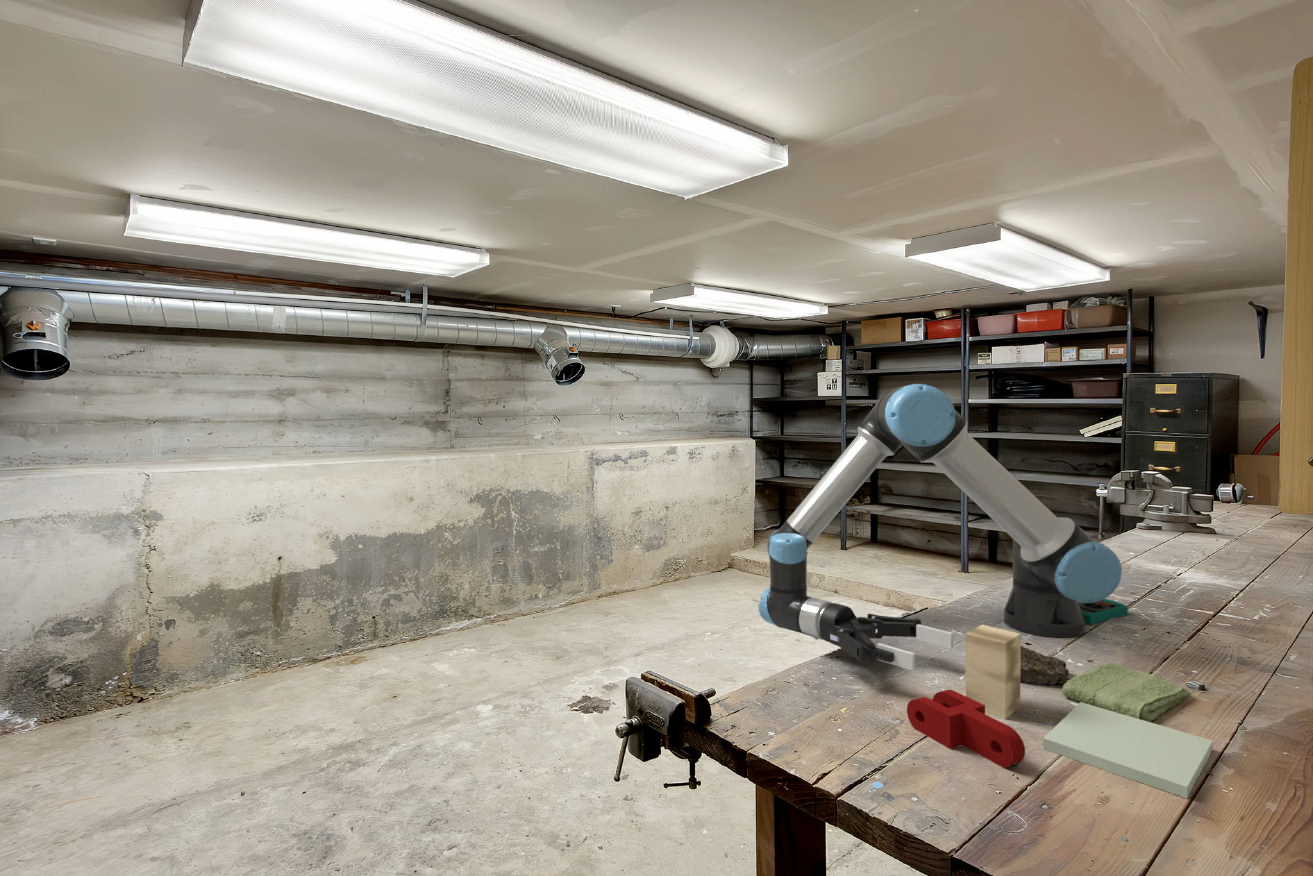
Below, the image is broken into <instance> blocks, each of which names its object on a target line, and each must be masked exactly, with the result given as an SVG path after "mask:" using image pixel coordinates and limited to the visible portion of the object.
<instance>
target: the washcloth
mask: <svg viewBox="0 0 1313 876" xmlns="http://www.w3.org/2000/svg"><path fill="white" fill-rule="evenodd" d="M1061 693H1062V695H1063V696H1064V697H1066V698H1067V699H1070V700H1073V701H1076V702H1079V703H1080V702H1082V703H1085V704H1089V705H1092V706H1096V707H1099V708H1103V709H1106V710H1109V711H1113V712H1116V713H1120V714H1123V715H1127V716H1130V717H1134V718H1137V719H1140V720H1144V721H1147V722H1153V721H1154V720H1156V719H1157V718H1159V717H1160V715H1161V714H1162V713H1163V714H1164V712H1166V711H1168V710H1169V709H1170V708H1173V707H1174V706H1176V705H1177V704H1179V703H1180V702H1181V701H1183V700H1185V699H1186V698H1187V697H1188V698H1191V696H1192V693H1191V691H1189V690H1188V689H1187V688H1186V687H1185V688H1184V687H1183V686H1182V685H1180V684H1177V683H1174V682H1171V681H1168V680H1165V679H1162V678H1160V677H1158V676H1156V675H1153V674H1150V673H1148V672H1146V671H1139V670H1132V669H1129V668H1126V667H1124V666H1122V665H1121V664H1118V663H1114V662H1113V663H1110V662H1109V663H1106V664H1105V663H1104V664H1098V665H1097V666H1095V667H1093V668H1092V669H1089V670H1088V671H1085V672H1084V673H1082V674H1079V675H1075V676H1074V677H1072V678H1070V679H1068V681H1067V682H1066V683H1065V684H1063V686H1062V689H1061ZM1168 708H1169V709H1168ZM1163 714H1162V715H1163ZM1162 715H1161V716H1162Z"/></svg>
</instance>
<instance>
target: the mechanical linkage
mask: <svg viewBox="0 0 1313 876" xmlns="http://www.w3.org/2000/svg"><path fill="white" fill-rule="evenodd" d="M906 715H907V718H908V720H909V723H910V725H911V726H912V728H913V729H914V730H916V731H917V732H919V733H921V734H923V735H924V736H925V737H928V738H930V739H931V740H932V741H935V742H936V743H938V744H940V745H942V746H943V747H946V748H947V749H949V750H952V749H955V748H957V747H961V746H963V747H964V748H966V749H968V750H970V751H972V752H974V753H975V754H977V755H979V756H980V757H983V758H984V759H986V760H988V761H990V762H992V763H993V764H995V765H997V766H999V767H1000V768H1002V769H1003V768H1007V767H1011V766H1014V765H1016V764H1019V763H1021V762H1022V761H1023V760H1024V758H1025V757H1026V748H1025V745H1024V742H1023V741H1024V740H1023V739H1022V737H1021V736H1020V735H1019V733H1018V732H1017V730H1015V729H1014V728H1012V727H1011V726H1010V725H1008V724H1006V723H1003V722H1001V721H1000V720H998V719H995V718H994V717H991V716H989V715H987V714H986V713H985V705H983V704H981V703H979V702H977V701H975V700H973V699H970V698H968V697H966V695H964V694H962V693H960V692H958V691H956V690H953V689H945V690H942V691H938V692H936V693H935V694H934V695H933V697H932V699H931V698H929V697H927V696H920V697H917V698H913V699H911V700H909V702H908V703H907V705H906Z"/></svg>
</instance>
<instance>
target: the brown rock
mask: <svg viewBox="0 0 1313 876" xmlns="http://www.w3.org/2000/svg"><path fill="white" fill-rule="evenodd" d="M1066 667H1067V663H1066V662H1065V661H1064V660H1062V659H1060V658H1058V657H1055V656H1048V655H1044V654H1043V653H1041V652H1037V651H1036V650H1034V649H1033V650H1032V649H1030V648H1028V647H1024V646H1023V645H1021V669H1020V682H1022V683H1031V684H1036V685H1049V684H1050V685H1056V683H1057V684H1063V685H1064V684H1065V683H1066V682H1068V680H1069V679H1068V677H1069V675H1070V673H1069V672H1070V670H1069V669H1068V668H1066Z"/></svg>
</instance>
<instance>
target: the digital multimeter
mask: <svg viewBox="0 0 1313 876" xmlns="http://www.w3.org/2000/svg"><path fill="white" fill-rule="evenodd" d="M1078 603H1079V605H1080V608H1081V611H1082V614H1083V617H1084V619H1085V625H1088V626H1093V625H1097V624H1099V623H1102V622H1105V621H1108V620H1109V621H1110V620H1112V619H1116V618H1119V617H1120V618H1121V617H1124V616H1128V615H1129V614H1128V613H1129V609H1128V606H1127V605H1125V604H1123V603H1121V602H1118V601H1116V600H1111V599H1108V598H1105V599H1103V600H1100V601H1097V602H1093V603H1092V602H1091V603H1083V602H1078Z"/></svg>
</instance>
